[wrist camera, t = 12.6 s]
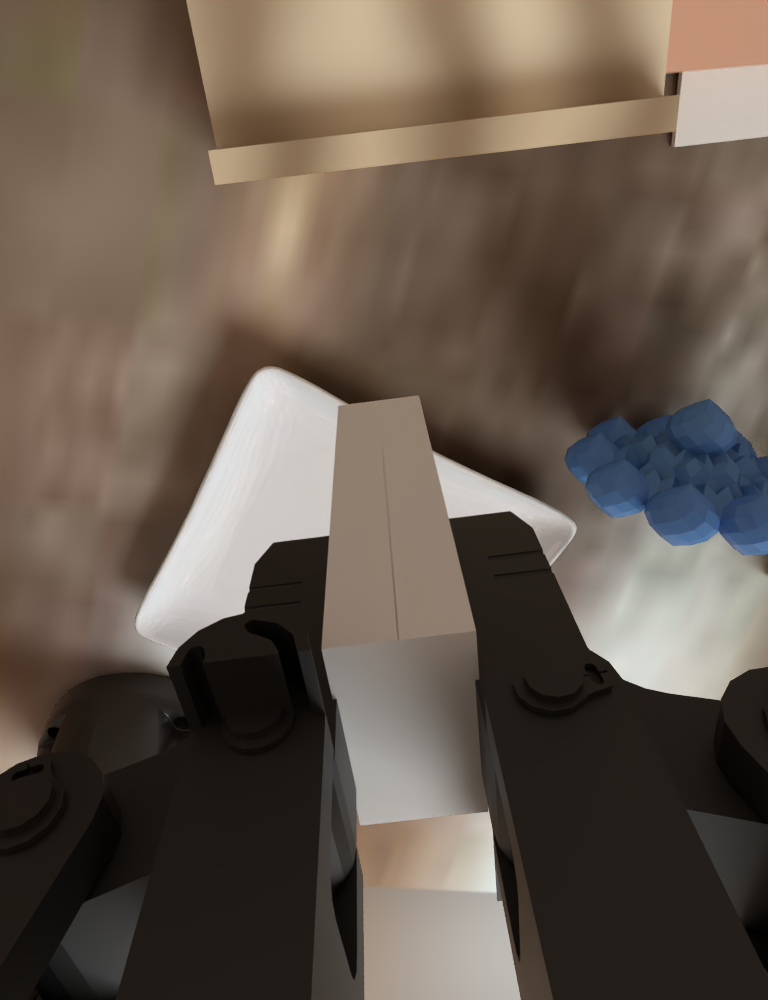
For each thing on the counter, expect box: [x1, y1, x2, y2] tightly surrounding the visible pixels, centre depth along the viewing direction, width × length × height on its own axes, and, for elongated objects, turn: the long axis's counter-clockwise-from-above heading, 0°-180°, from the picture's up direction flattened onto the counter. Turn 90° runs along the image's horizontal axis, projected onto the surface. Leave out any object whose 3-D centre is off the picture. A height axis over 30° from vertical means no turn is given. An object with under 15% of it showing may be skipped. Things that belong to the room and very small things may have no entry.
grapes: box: [565, 399, 768, 555], centre depth 33 cm, size 12×7×12 cm, turn 90°
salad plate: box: [135, 366, 577, 651], centre depth 42 cm, size 21×21×3 cm
